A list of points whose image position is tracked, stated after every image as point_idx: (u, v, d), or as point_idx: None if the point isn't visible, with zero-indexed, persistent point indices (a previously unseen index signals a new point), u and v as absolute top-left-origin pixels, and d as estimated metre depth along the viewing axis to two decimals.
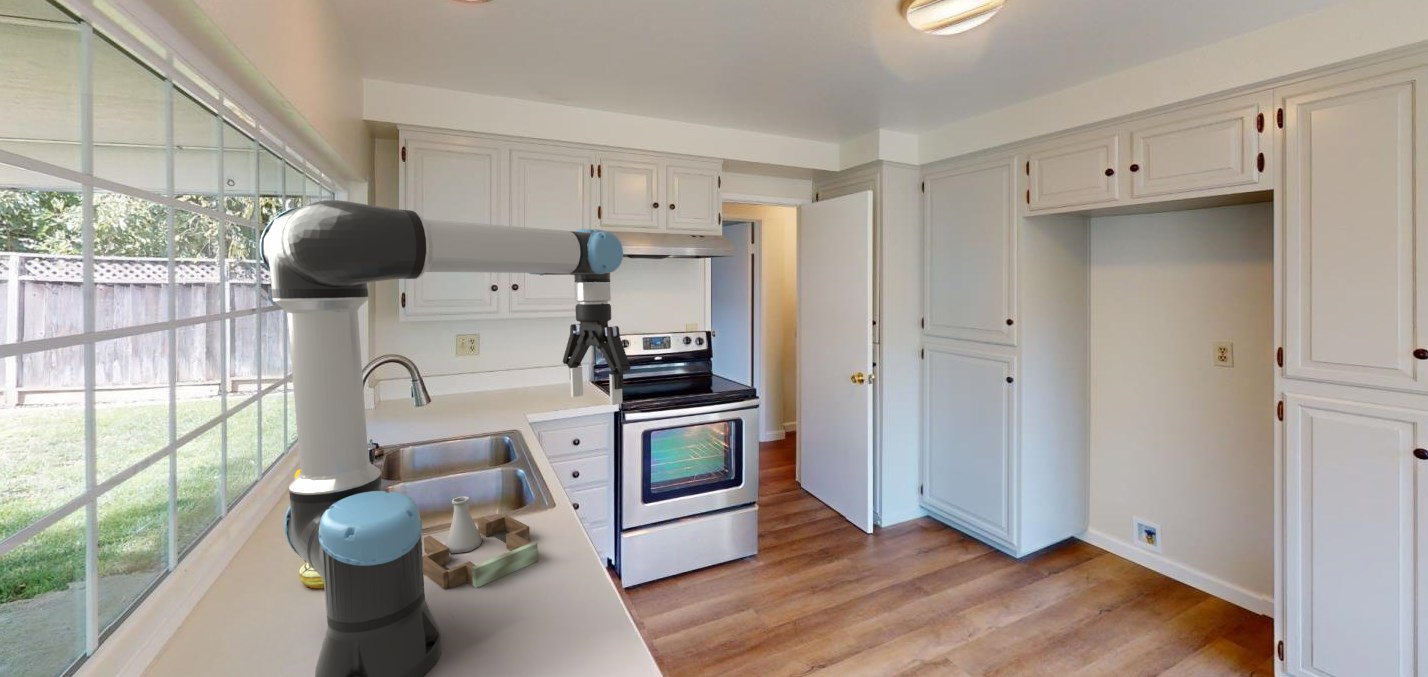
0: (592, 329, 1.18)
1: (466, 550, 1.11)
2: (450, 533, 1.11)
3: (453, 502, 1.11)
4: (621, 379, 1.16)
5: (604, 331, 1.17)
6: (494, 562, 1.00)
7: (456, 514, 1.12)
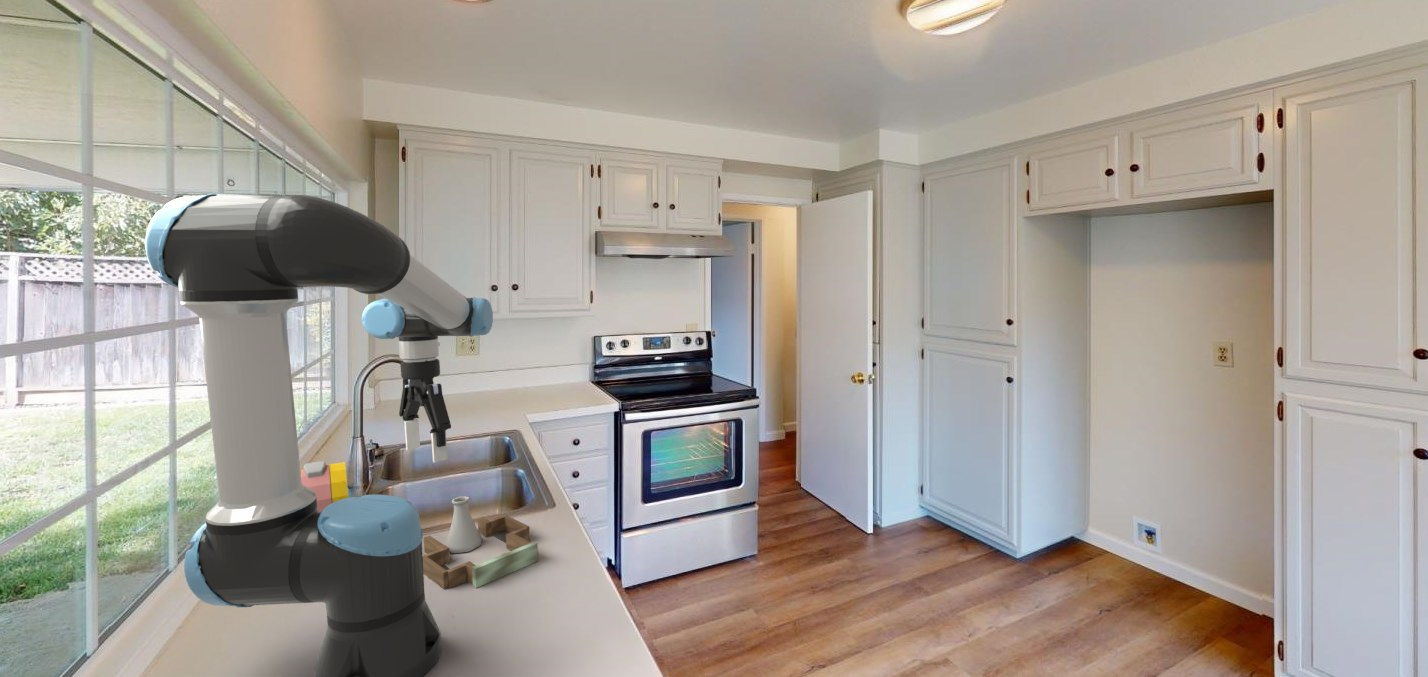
0: (418, 386, 1.19)
1: (466, 550, 1.11)
2: (450, 533, 1.11)
3: (453, 502, 1.11)
4: (443, 437, 1.17)
5: None
6: (494, 562, 1.00)
7: (456, 514, 1.12)
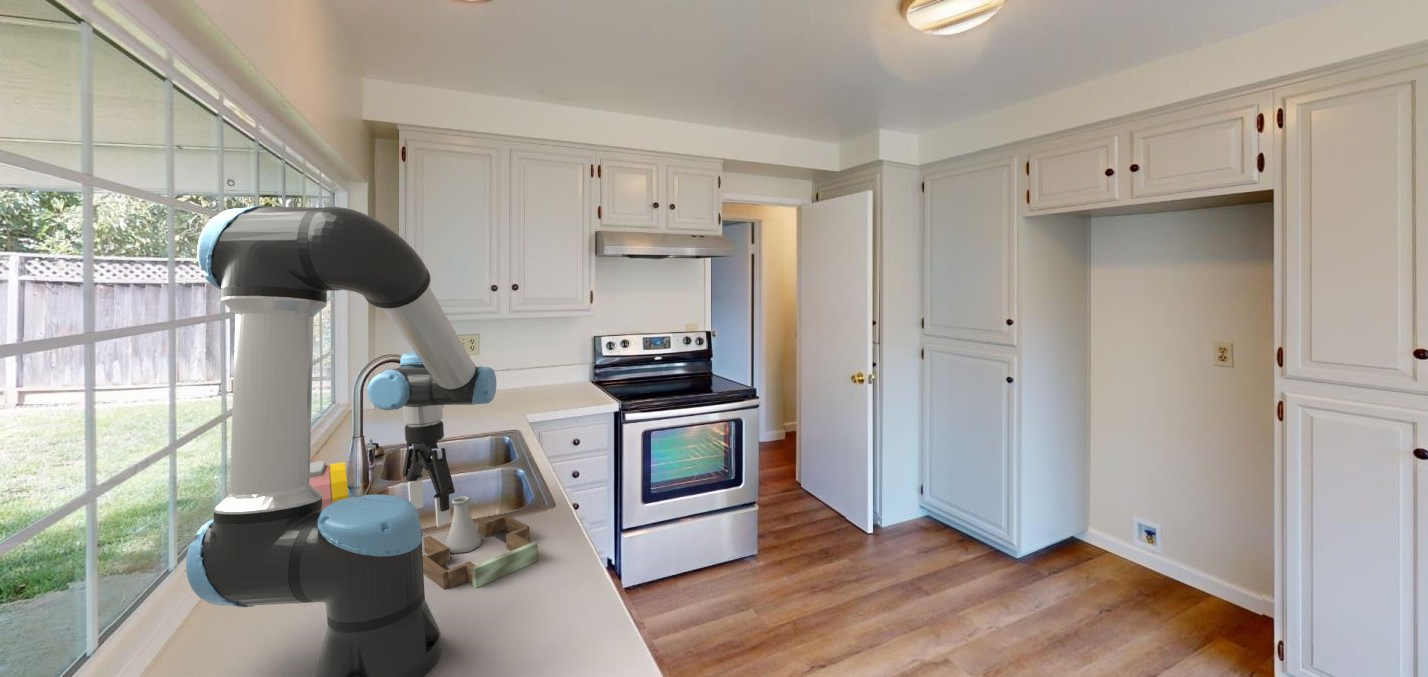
0: (422, 449, 1.20)
1: (466, 550, 1.11)
2: (450, 533, 1.11)
3: (453, 502, 1.11)
4: (446, 501, 1.17)
5: (431, 453, 1.18)
6: (494, 562, 1.00)
7: (456, 514, 1.12)
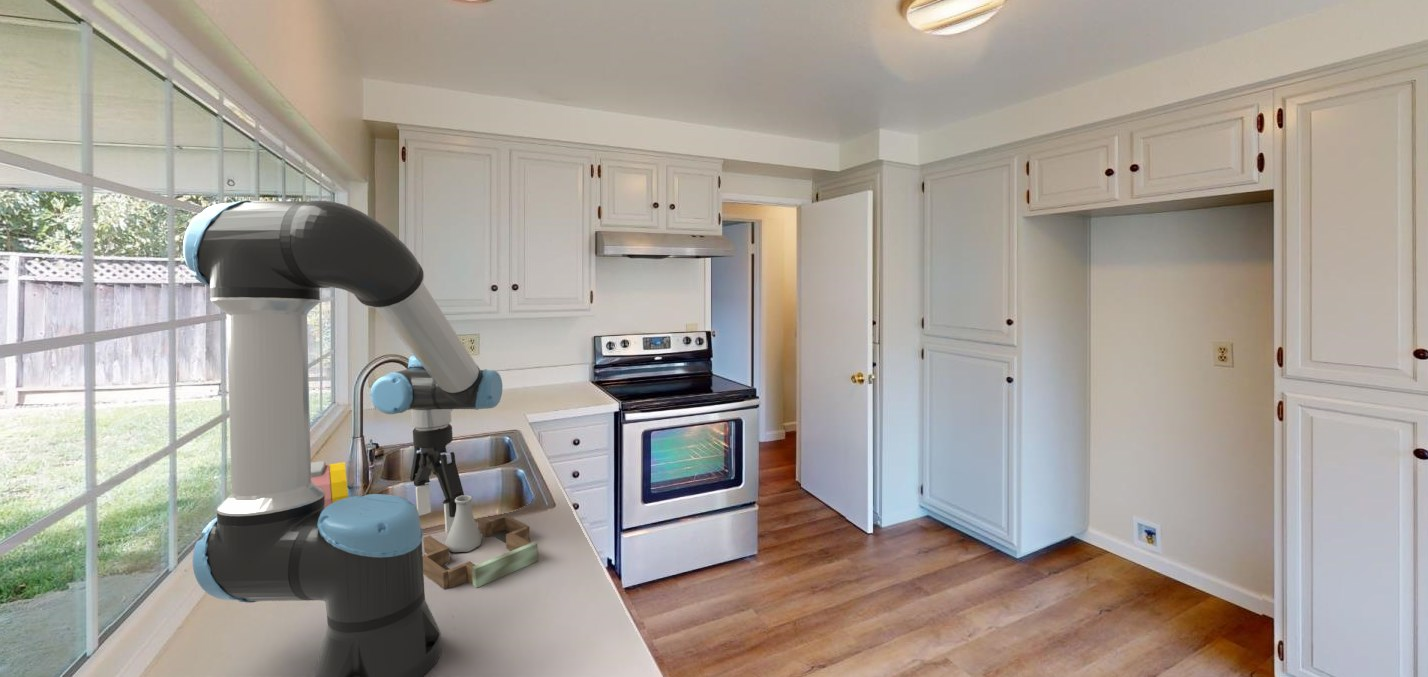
0: (430, 453, 1.17)
1: (466, 549, 1.11)
2: (451, 531, 1.11)
3: (456, 501, 1.11)
4: None
5: (440, 457, 1.16)
6: (494, 562, 1.00)
7: (458, 513, 1.11)
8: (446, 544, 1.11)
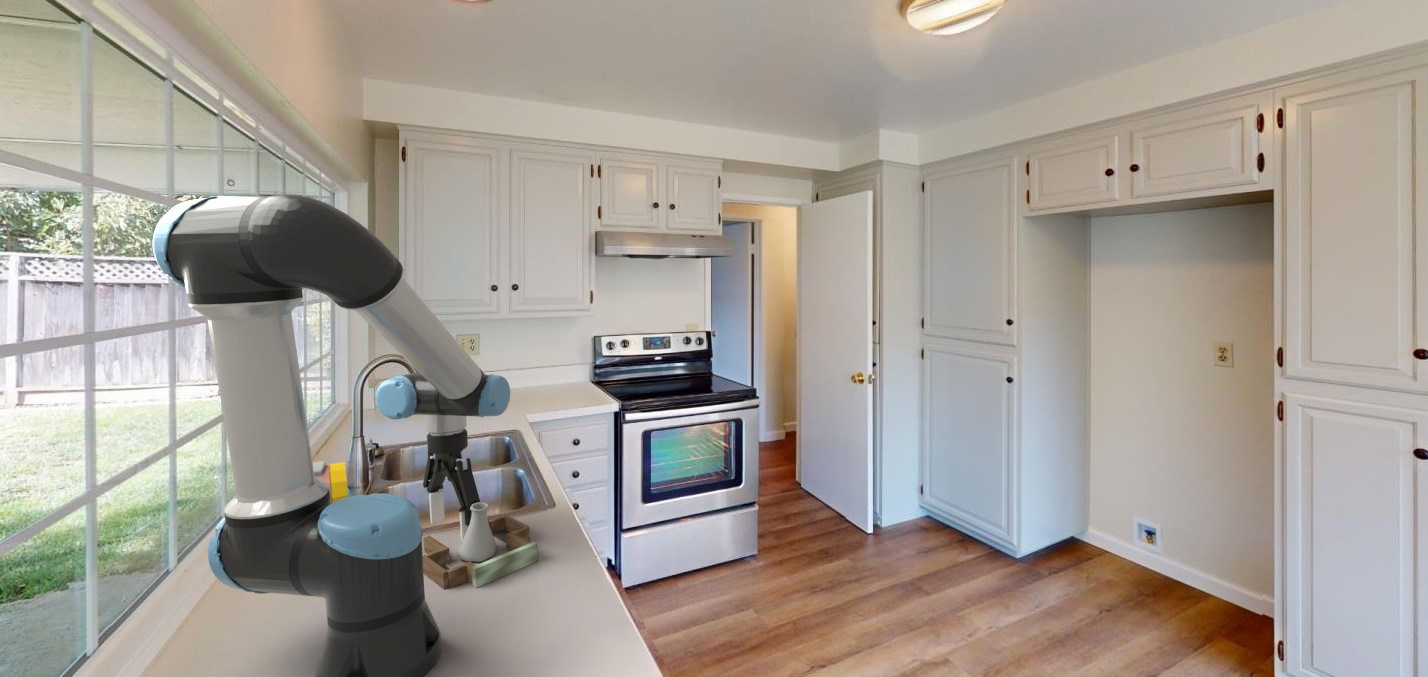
0: (445, 459, 1.13)
1: (479, 559, 1.07)
2: (465, 539, 1.07)
3: (471, 508, 1.07)
4: None
5: (455, 463, 1.11)
6: (494, 562, 1.00)
7: (473, 521, 1.07)
8: (459, 552, 1.07)
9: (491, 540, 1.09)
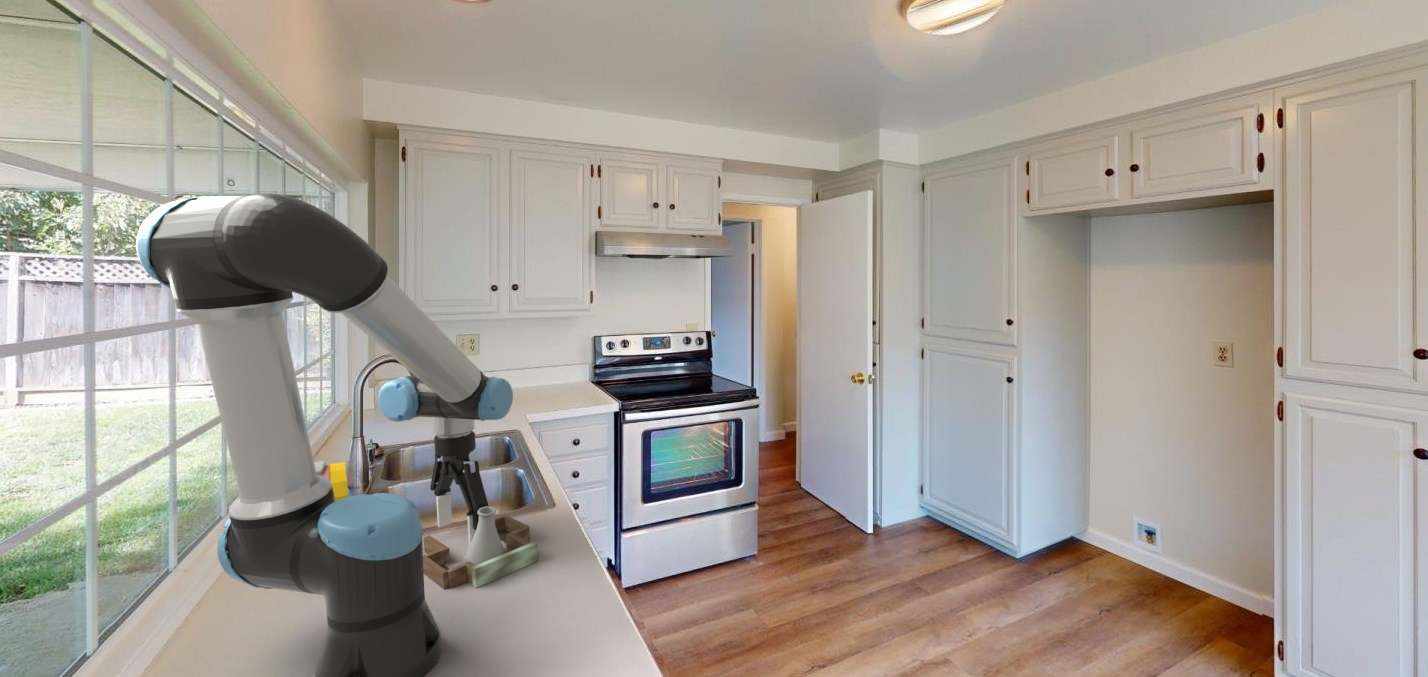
0: (452, 462, 1.11)
1: None
2: (472, 544, 1.05)
3: (478, 513, 1.05)
4: None
5: (463, 466, 1.09)
6: (494, 562, 1.00)
7: (480, 525, 1.05)
8: (466, 556, 1.05)
9: (498, 545, 1.07)
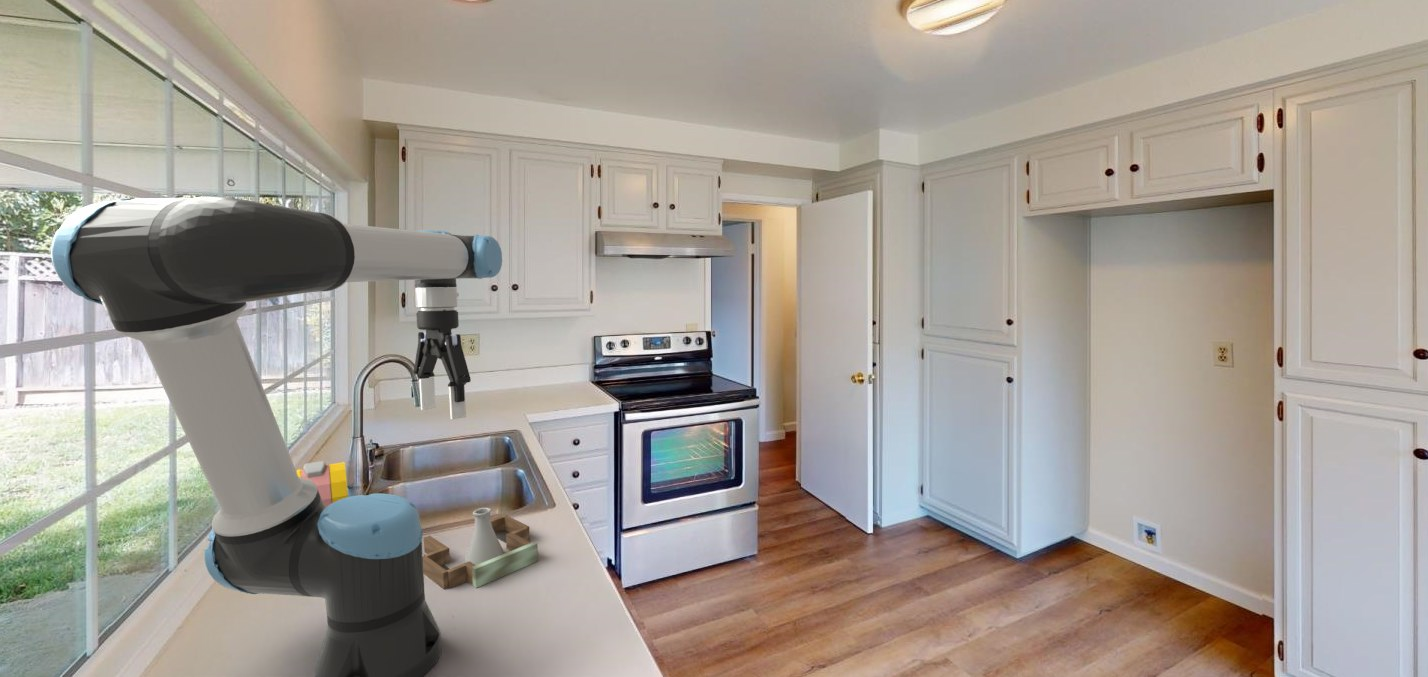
0: (435, 337, 1.10)
1: None
2: (470, 546, 1.06)
3: (474, 514, 1.06)
4: (461, 391, 1.08)
5: (445, 340, 1.09)
6: (494, 562, 1.00)
7: (477, 526, 1.06)
8: (466, 560, 1.06)
9: (497, 546, 1.08)
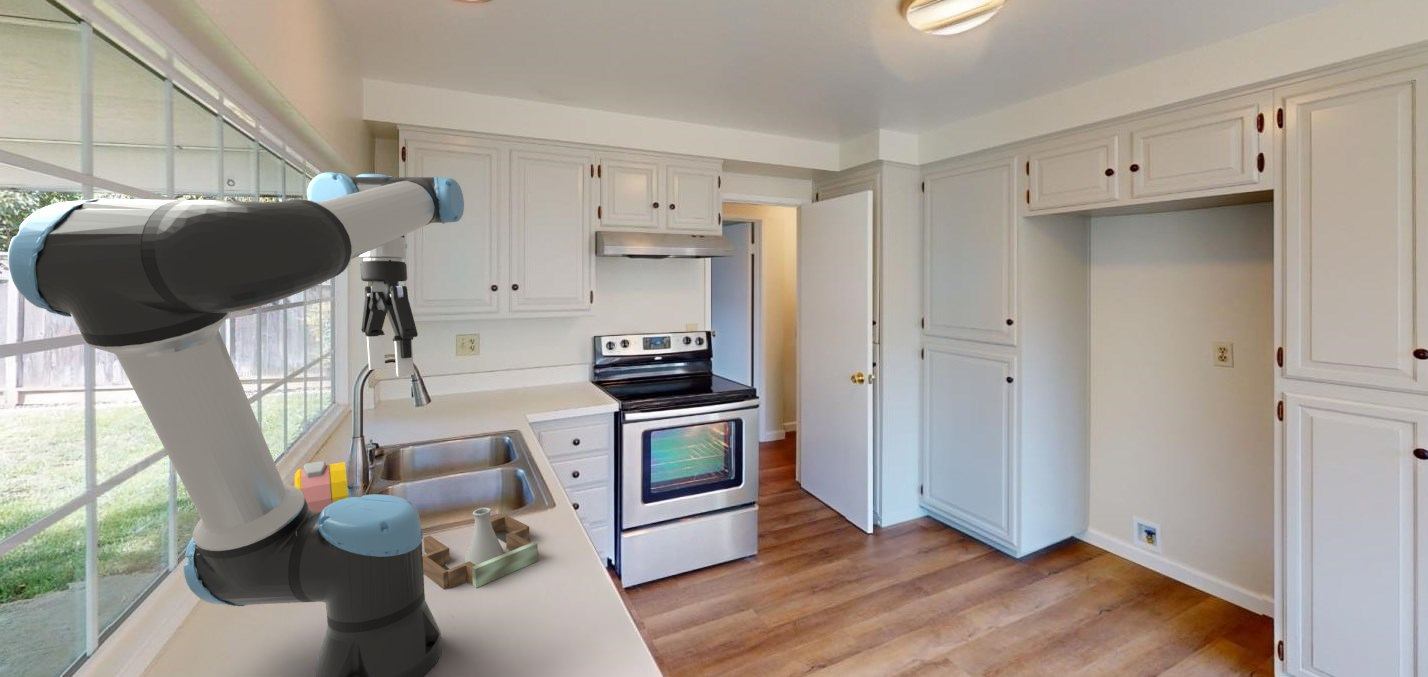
0: (380, 290, 1.03)
1: None
2: (470, 546, 1.06)
3: (474, 514, 1.06)
4: (408, 347, 1.01)
5: (391, 292, 1.02)
6: (494, 562, 1.00)
7: (477, 527, 1.06)
8: (466, 560, 1.05)
9: (497, 546, 1.08)
